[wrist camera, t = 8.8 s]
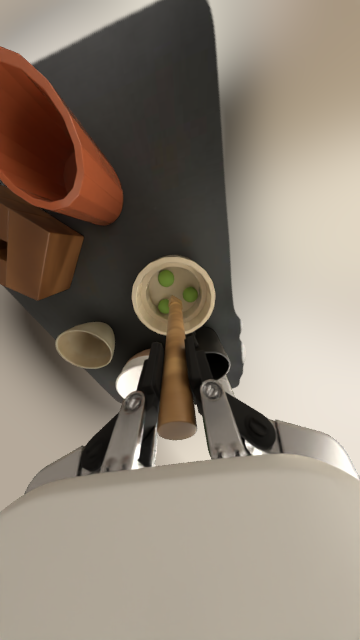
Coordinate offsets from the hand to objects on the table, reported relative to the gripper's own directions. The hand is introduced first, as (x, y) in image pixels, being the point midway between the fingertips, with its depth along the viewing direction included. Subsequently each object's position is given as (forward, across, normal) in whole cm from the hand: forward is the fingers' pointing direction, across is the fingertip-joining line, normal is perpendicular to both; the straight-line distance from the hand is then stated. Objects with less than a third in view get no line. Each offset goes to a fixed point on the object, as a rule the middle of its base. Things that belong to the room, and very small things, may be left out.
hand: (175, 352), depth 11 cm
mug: (+19, -3, +13) cm, 23 cm away
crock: (+18, +9, -17) cm, 26 cm away
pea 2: (+16, +2, +2) cm, 16 cm away
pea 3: (+16, -3, +1) cm, 16 cm away
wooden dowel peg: (+15, 0, 0) cm, 15 cm away
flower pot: (+18, +19, +6) cm, 27 cm away
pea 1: (+16, +1, -3) cm, 16 cm away
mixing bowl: (+18, 0, 0) cm, 18 cm away
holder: (+18, +21, -12) cm, 30 cm away
